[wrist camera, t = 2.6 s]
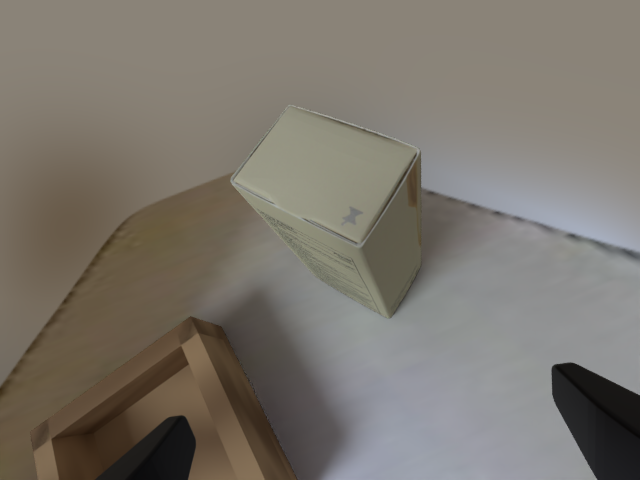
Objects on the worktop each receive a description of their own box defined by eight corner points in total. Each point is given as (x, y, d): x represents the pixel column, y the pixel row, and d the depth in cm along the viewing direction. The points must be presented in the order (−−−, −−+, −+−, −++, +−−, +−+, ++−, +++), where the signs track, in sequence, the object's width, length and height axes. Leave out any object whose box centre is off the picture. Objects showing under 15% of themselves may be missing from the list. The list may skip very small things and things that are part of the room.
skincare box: (423, 264, 23) (434, 148, 12) (390, 322, 22) (368, 255, 11) (340, 223, 25) (287, 96, 14) (308, 273, 24) (224, 179, 13)
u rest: (306, 497, 19) (283, 521, 16) (134, 627, 19) (72, 680, 15) (221, 326, 24) (190, 316, 21) (84, 425, 24) (29, 431, 20)
